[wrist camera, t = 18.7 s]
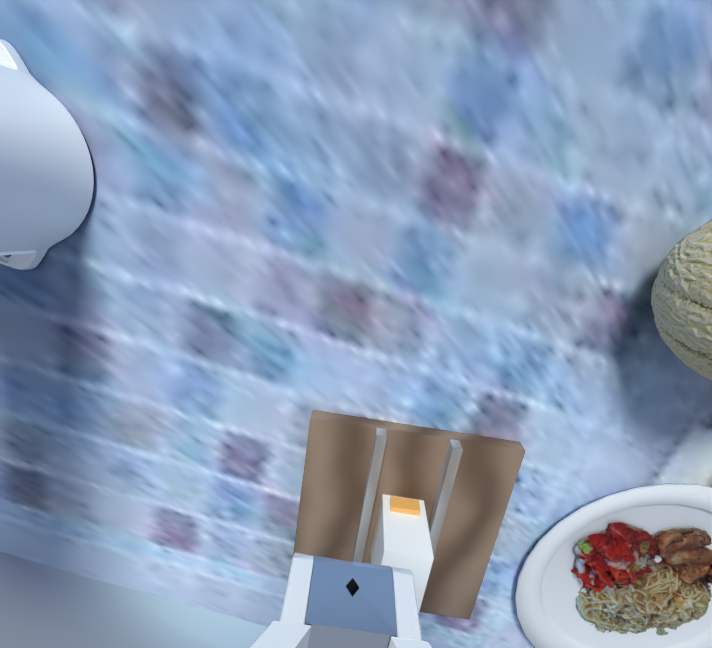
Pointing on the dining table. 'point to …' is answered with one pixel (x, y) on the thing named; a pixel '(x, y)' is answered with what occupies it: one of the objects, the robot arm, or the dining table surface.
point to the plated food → (623, 573)
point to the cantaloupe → (687, 300)
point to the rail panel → (409, 480)
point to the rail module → (404, 539)
